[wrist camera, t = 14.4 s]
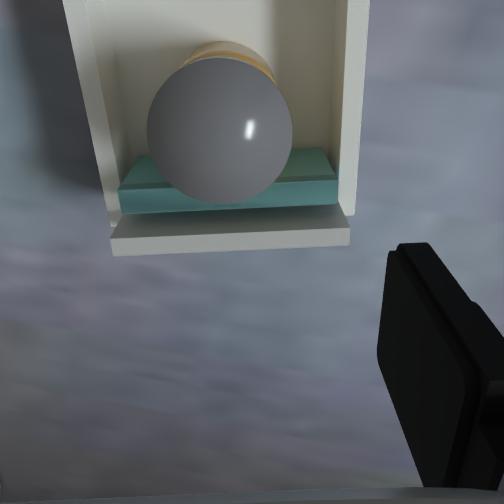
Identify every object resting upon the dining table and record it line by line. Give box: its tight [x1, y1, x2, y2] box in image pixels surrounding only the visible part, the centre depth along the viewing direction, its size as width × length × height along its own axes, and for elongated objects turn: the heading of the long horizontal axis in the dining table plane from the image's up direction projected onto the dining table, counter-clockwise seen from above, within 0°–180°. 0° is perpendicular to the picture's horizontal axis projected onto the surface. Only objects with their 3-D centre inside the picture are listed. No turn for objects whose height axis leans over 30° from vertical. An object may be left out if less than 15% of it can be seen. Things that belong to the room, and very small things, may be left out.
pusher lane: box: [62, 0, 370, 256], centre depth 24 cm, size 15×14×8 cm
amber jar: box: [146, 41, 293, 204], centre depth 24 cm, size 6×6×8 cm
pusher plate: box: [117, 147, 338, 214], centre depth 26 cm, size 1×11×6 cm, turn 92°
